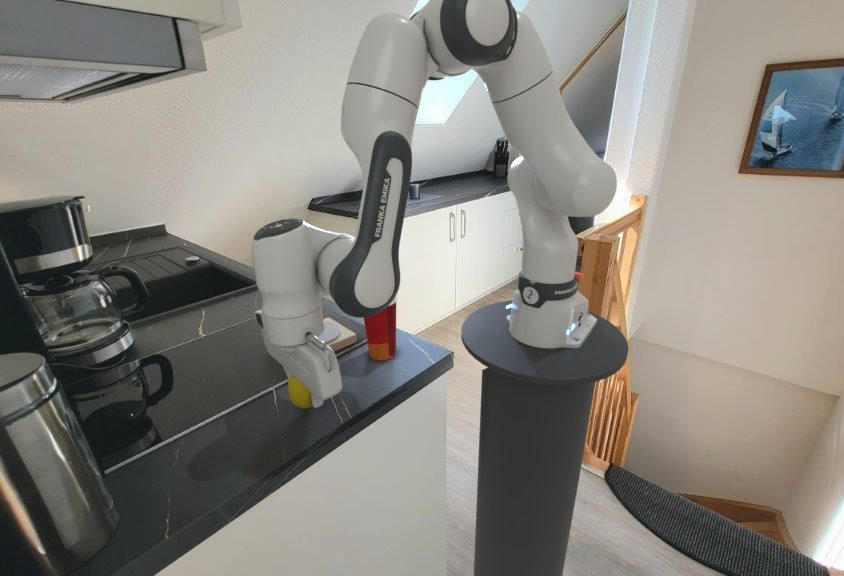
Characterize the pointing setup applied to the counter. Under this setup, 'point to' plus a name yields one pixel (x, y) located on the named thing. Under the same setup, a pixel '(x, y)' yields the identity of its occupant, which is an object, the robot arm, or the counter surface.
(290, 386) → the lemon
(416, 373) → the counter surface
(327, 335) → the scale
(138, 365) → the counter surface
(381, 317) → the paper cup
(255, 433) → the counter surface
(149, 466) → the counter surface
